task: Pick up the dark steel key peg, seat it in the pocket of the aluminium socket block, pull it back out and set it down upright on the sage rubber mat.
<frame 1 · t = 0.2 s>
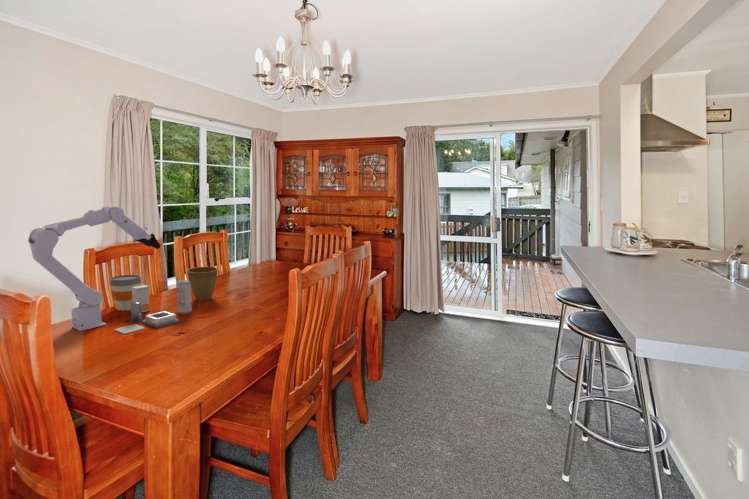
hand: (155, 246, 178), 31 cm above the table, tool tilted 45°, fingers open, 7 cm apart
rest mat: (130, 329, 157), on the table
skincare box: (141, 311, 180), on the table
energy drink can: (185, 312, 181), on the table
socket block: (160, 322, 166), on the table
key peg: (136, 320, 167), on the table
plant pot: (203, 299, 204), on the table
reusable coffee cup: (127, 308, 185), on the table
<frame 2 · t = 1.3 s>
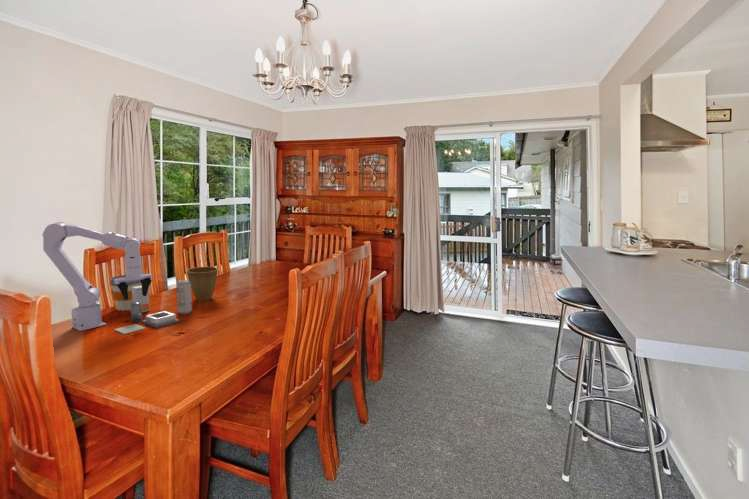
hand: (135, 297, 166), 10 cm above the table, tool pointing down, fingers open, 7 cm apart
nothing on the table moved.
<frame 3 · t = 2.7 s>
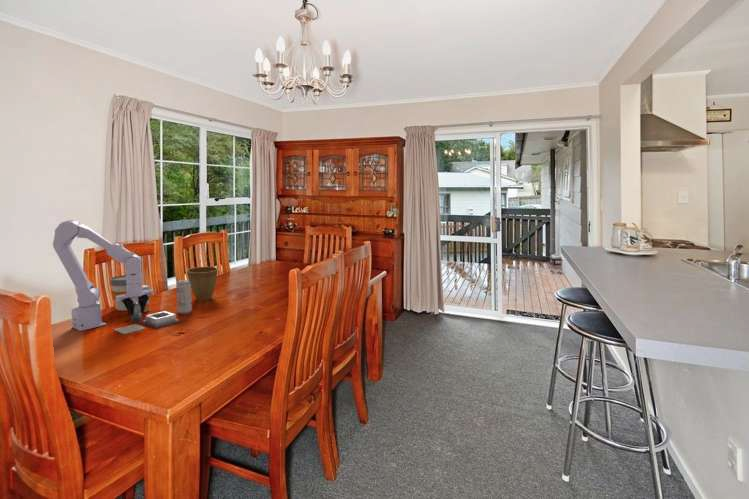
hand: (136, 313, 167), 3 cm above the table, tool pointing down, fingers closed on key peg, 4 cm apart
key peg: (136, 320, 167), on the table, touching gripper
everything else where it was.
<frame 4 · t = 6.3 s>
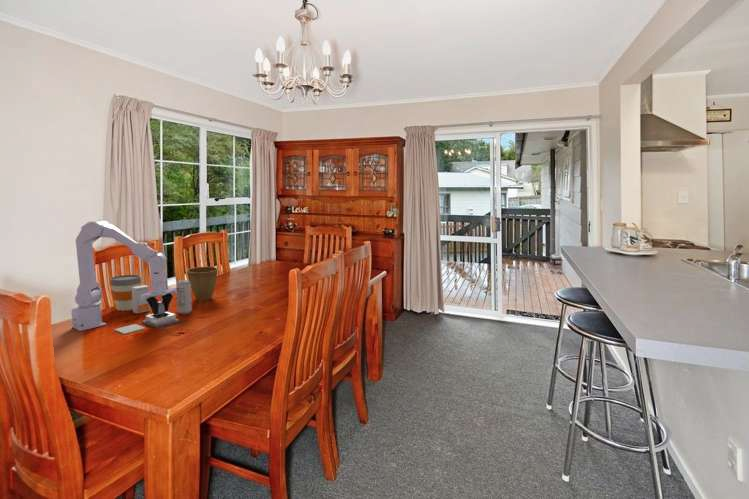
hand: (160, 312, 166), 4 cm above the table, tool pointing down, fingers closed on key peg, 4 cm apart
key peg: (160, 320, 166), point 1 cm above the table, touching gripper
everything else where it was.
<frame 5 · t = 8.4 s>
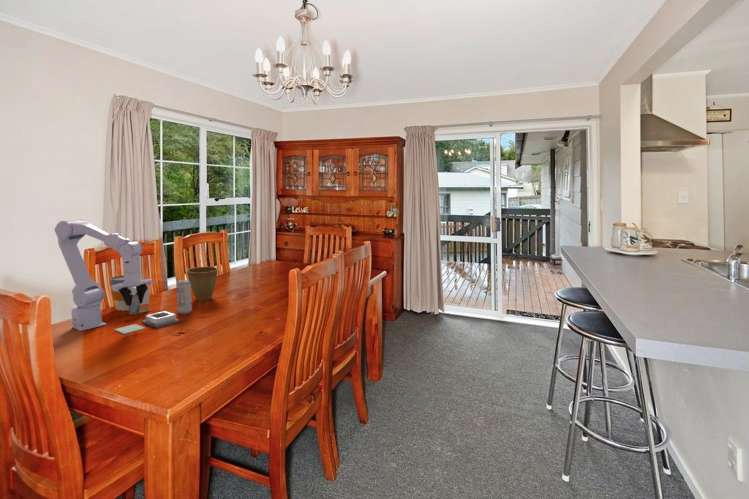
hand: (134, 304, 157), 10 cm above the table, tool pointing down, fingers closed on key peg, 4 cm apart
key peg: (134, 312, 158), point 6 cm above the table, touching gripper
everything else where it was.
when the fingers open (5 cm above the table, at t = 10.3 s): key peg stays where it is, resting on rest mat.
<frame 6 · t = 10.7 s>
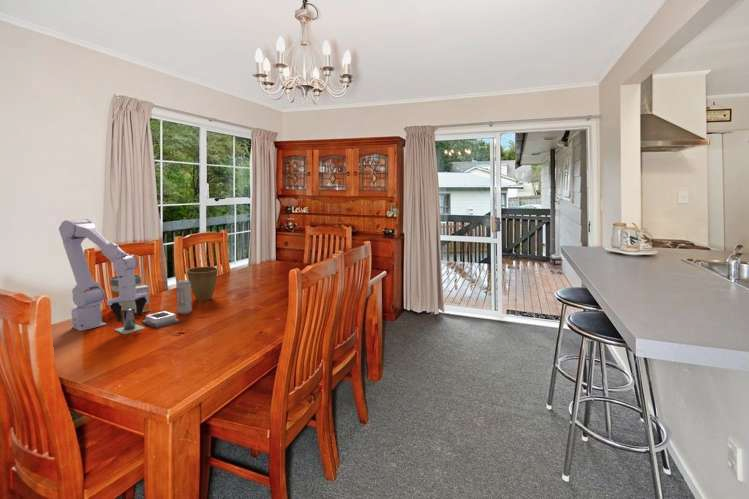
hand: (129, 318, 156), 5 cm above the table, tool pointing down, fingers open, 7 cm apart
key peg: (129, 328, 157), resting on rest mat
everything else where it was.
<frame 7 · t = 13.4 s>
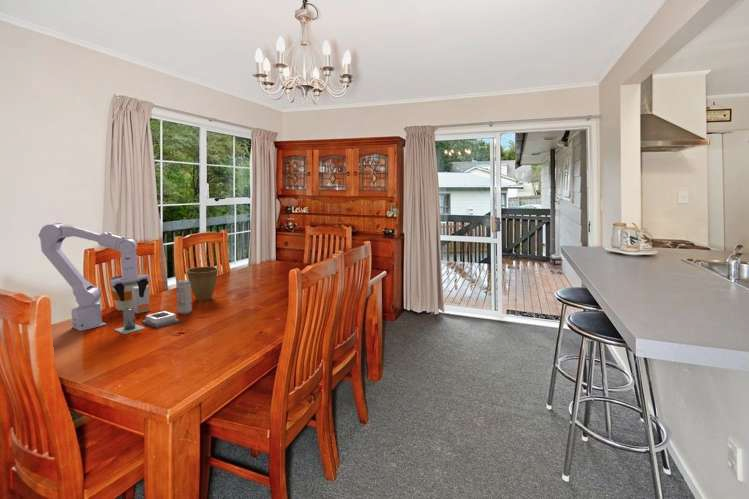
hand: (132, 298, 164), 10 cm above the table, tool pointing down, fingers open, 7 cm apart
nothing on the table moved.
at the end: key peg 0.1 cm off-centre on the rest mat, point 0.4 cm above the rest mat's base; key peg tilted 1°; the gripper is holding nothing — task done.
